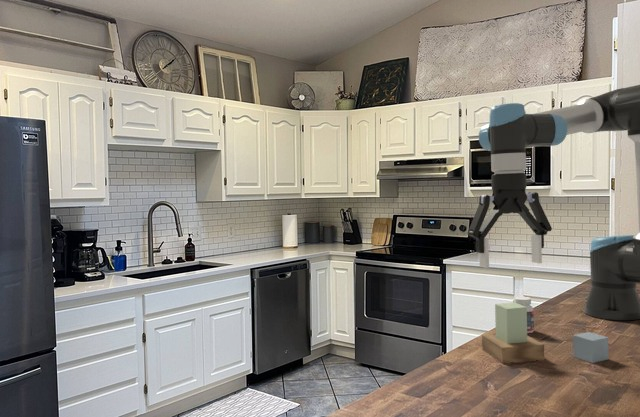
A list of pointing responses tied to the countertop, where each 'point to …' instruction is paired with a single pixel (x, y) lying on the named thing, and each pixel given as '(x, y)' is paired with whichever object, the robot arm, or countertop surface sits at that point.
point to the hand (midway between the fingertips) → (510, 265)
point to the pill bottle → (530, 312)
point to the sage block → (511, 322)
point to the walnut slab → (513, 349)
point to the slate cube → (590, 347)
